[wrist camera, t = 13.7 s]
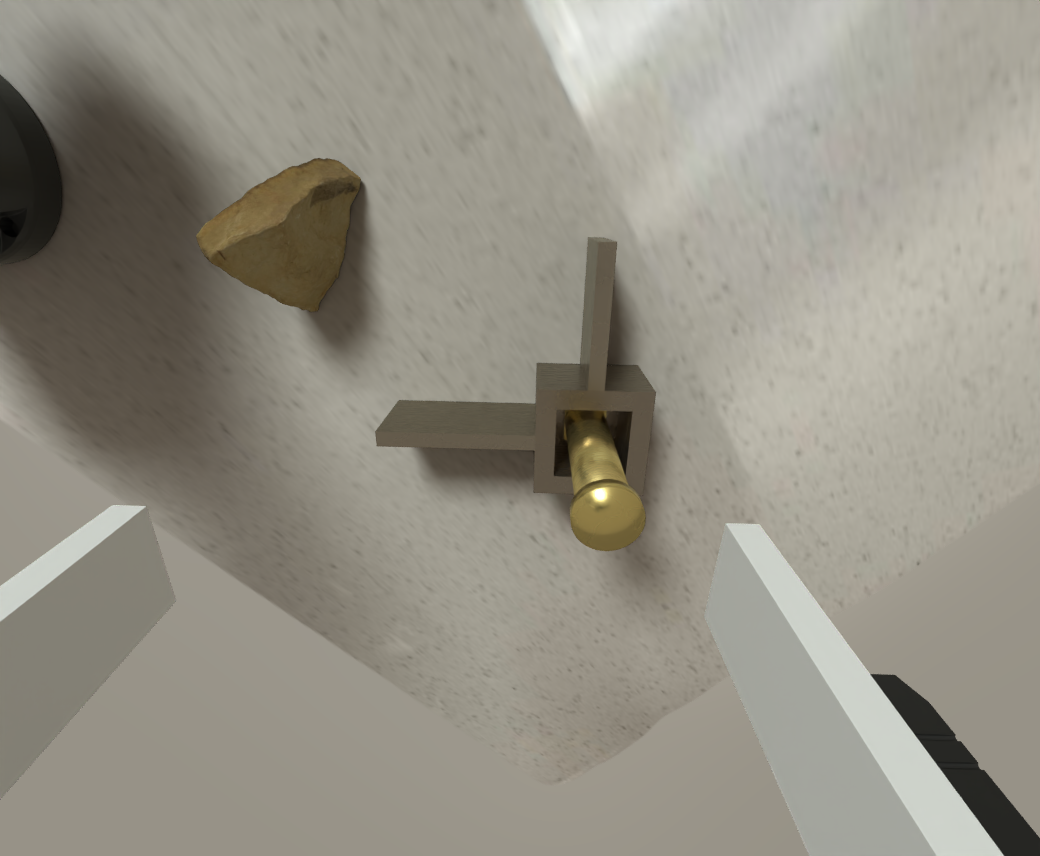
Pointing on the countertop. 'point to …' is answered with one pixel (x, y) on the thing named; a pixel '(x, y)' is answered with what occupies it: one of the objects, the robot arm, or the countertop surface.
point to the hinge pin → (599, 485)
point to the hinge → (548, 401)
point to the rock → (286, 232)
